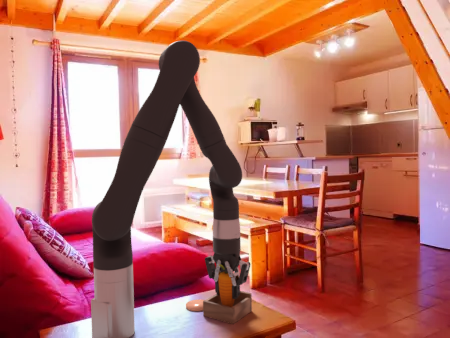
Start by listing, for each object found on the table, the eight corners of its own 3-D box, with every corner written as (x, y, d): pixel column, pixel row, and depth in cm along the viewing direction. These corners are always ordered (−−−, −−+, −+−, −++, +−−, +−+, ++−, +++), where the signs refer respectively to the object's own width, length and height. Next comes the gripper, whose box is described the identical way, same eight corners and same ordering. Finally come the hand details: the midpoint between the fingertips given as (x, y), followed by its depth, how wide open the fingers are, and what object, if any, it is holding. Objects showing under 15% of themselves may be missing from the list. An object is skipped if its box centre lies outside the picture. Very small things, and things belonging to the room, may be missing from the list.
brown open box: (233, 324, 97) (232, 305, 97) (203, 315, 102) (203, 297, 102) (251, 310, 105) (251, 293, 105) (223, 303, 110) (222, 286, 110)
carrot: (235, 317, 101) (234, 262, 100) (217, 316, 102) (215, 261, 101) (238, 310, 106) (237, 257, 105) (220, 309, 107) (219, 256, 106)
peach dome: (200, 313, 104) (200, 311, 104) (180, 307, 108) (180, 305, 108) (214, 304, 110) (214, 302, 110) (196, 299, 114) (196, 297, 114)
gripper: (197, 234, 104) (198, 295, 104) (241, 240, 96) (242, 306, 96) (213, 229, 110) (214, 287, 111) (256, 234, 102) (257, 297, 103)
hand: (227, 296), depth 103 cm, fingers closed on carrot, 4 cm apart
